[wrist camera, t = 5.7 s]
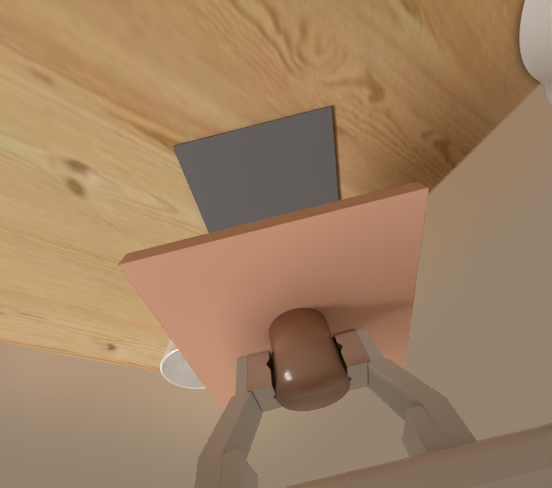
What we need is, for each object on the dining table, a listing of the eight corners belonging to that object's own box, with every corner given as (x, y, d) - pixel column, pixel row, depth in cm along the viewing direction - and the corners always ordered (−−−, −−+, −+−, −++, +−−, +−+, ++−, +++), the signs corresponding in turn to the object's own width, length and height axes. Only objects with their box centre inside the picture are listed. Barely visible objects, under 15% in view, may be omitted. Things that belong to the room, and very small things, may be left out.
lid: (415, 181, 9) (508, 220, 6) (397, 355, 15) (438, 421, 12) (126, 253, 9) (64, 330, 6) (223, 398, 16) (218, 475, 12)
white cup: (169, 303, 33) (143, 371, 24) (209, 272, 31) (195, 334, 22) (211, 329, 37) (200, 396, 28) (248, 303, 35) (249, 366, 26)
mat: (330, 106, 23) (331, 106, 22) (340, 241, 31) (341, 243, 31) (173, 145, 23) (172, 146, 23) (225, 270, 31) (225, 272, 31)
